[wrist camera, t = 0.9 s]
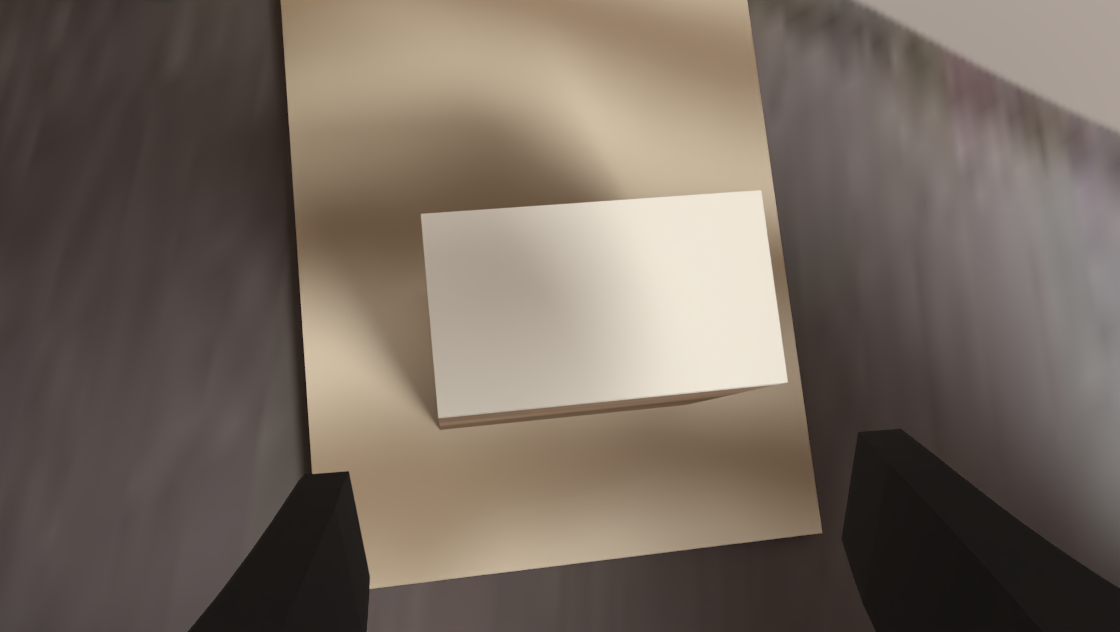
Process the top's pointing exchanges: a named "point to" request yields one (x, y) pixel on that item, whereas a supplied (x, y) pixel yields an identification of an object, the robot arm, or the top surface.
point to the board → (505, 182)
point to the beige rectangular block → (599, 307)
